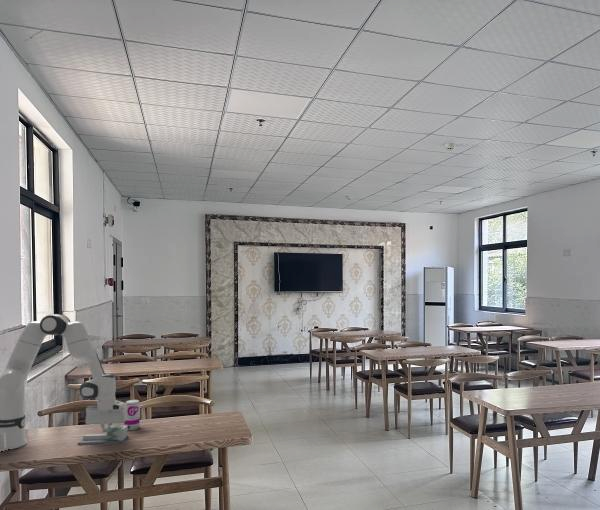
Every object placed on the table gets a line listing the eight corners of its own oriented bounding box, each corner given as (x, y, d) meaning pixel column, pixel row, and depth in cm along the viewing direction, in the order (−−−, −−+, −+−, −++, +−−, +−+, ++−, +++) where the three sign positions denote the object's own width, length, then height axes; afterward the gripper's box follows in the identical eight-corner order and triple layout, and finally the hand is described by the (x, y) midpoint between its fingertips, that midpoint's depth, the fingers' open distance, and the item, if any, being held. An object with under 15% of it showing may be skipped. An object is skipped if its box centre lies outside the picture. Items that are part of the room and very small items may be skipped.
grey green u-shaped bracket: (77, 444, 222) (77, 432, 222) (85, 438, 232) (85, 426, 232) (121, 443, 224) (122, 431, 224) (127, 436, 234) (128, 425, 234)
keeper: (106, 440, 225) (107, 429, 225) (111, 435, 232) (111, 425, 232) (118, 439, 225) (119, 429, 226) (123, 435, 232) (123, 425, 233)
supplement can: (139, 429, 245) (140, 402, 246) (124, 431, 242) (124, 403, 243) (139, 425, 253) (139, 398, 254) (124, 427, 250) (124, 400, 251)
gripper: (83, 407, 225) (82, 434, 224) (124, 406, 227) (123, 433, 226) (88, 404, 232) (87, 430, 231) (128, 402, 233) (127, 429, 232)
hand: (106, 432), depth 228 cm, fingers closed
